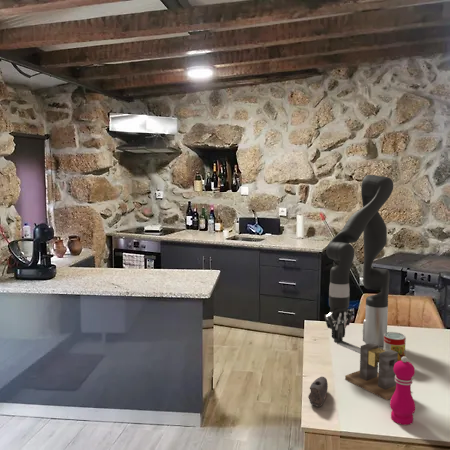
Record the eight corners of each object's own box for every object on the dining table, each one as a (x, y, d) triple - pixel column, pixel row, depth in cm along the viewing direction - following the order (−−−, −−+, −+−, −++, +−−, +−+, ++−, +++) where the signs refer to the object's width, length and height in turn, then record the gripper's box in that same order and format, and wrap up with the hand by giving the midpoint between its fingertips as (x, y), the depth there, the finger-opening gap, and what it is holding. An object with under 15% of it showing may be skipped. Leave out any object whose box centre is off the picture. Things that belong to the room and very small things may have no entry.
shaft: (332, 343, 176) (332, 323, 175) (338, 342, 177) (338, 322, 176) (373, 361, 159) (374, 339, 158) (379, 359, 161) (380, 337, 160)
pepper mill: (385, 413, 142) (387, 352, 140) (407, 412, 143) (410, 351, 140) (395, 426, 135) (398, 362, 132) (419, 425, 135) (422, 361, 133)
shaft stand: (345, 379, 165) (346, 344, 164) (367, 371, 172) (368, 337, 170) (386, 400, 150) (388, 361, 149) (409, 390, 157) (410, 353, 155)
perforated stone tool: (317, 388, 159) (317, 369, 158) (332, 391, 157) (332, 371, 156) (305, 408, 146) (305, 387, 145) (321, 411, 143) (322, 391, 143)
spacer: (367, 363, 160) (368, 350, 160) (377, 360, 163) (377, 347, 163) (374, 366, 158) (375, 353, 157) (384, 363, 161) (384, 350, 160)
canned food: (408, 367, 175) (410, 337, 174) (393, 370, 172) (394, 340, 171) (394, 359, 182) (395, 330, 181) (378, 362, 179) (379, 333, 178)
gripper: (344, 289, 180) (343, 331, 182) (318, 294, 172) (318, 338, 174) (359, 293, 174) (358, 336, 176) (333, 299, 166) (332, 344, 168)
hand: (338, 337), depth 175 cm, fingers closed on shaft, 3 cm apart
